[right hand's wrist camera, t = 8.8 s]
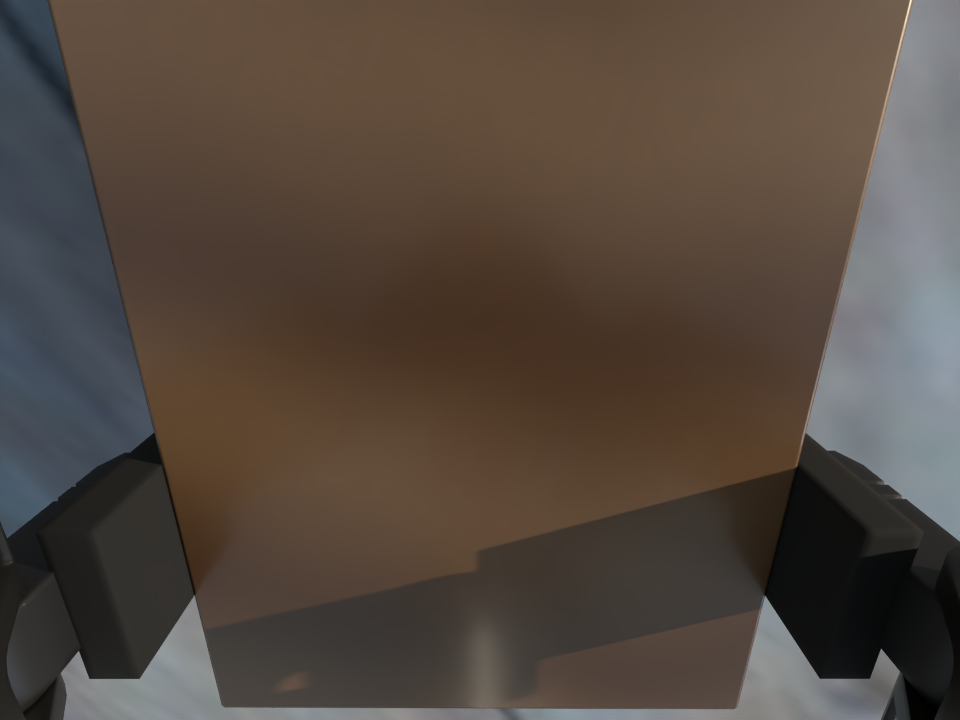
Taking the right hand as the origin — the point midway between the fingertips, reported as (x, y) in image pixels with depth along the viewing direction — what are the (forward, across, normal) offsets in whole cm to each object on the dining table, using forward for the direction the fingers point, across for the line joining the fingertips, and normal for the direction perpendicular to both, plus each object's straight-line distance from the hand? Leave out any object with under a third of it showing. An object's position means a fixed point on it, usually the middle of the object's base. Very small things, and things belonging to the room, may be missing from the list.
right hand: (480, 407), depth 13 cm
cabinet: (+6, 0, -4) cm, 7 cm away
